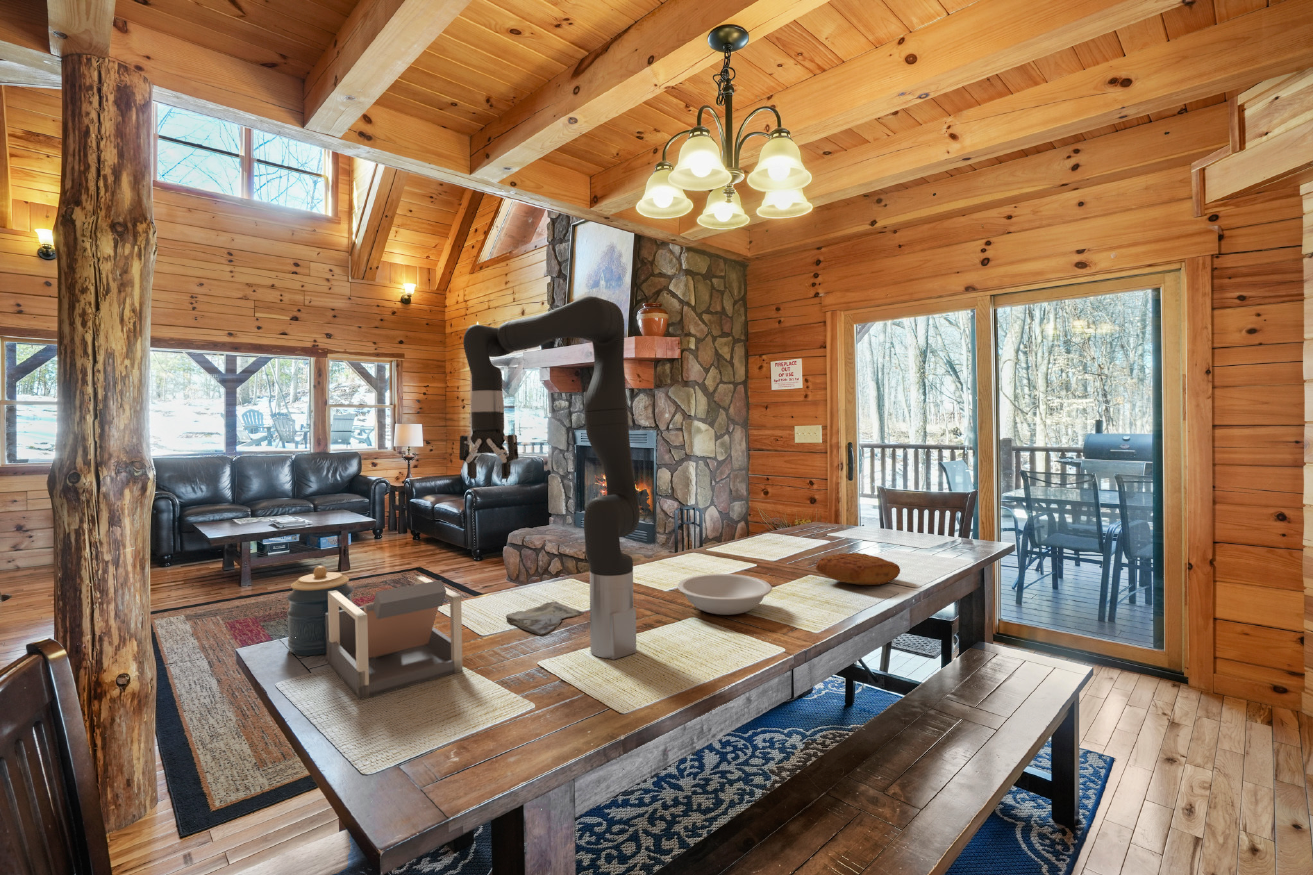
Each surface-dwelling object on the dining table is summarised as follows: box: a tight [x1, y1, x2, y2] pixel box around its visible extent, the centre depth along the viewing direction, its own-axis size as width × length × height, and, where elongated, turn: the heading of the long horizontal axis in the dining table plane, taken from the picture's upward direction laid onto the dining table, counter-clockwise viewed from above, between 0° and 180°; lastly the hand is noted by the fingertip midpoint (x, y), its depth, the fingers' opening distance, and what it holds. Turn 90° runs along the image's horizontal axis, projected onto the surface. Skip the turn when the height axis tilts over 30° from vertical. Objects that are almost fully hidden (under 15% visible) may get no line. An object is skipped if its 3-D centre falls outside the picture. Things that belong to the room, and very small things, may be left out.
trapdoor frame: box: [325, 575, 463, 701], centre depth 126 cm, size 24×19×15 cm
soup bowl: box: [677, 573, 773, 616], centre depth 160 cm, size 24×24×7 cm
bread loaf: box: [815, 552, 901, 586], centre depth 186 cm, size 22×17×8 cm
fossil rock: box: [505, 601, 584, 636], centre depth 154 cm, size 18×15×2 cm
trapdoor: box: [355, 579, 446, 659], centre depth 121 cm, size 18×14×4 cm
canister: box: [286, 565, 355, 657], centre depth 137 cm, size 13×13×18 cm
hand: (489, 478), depth 149 cm, fingers open, 8 cm apart
